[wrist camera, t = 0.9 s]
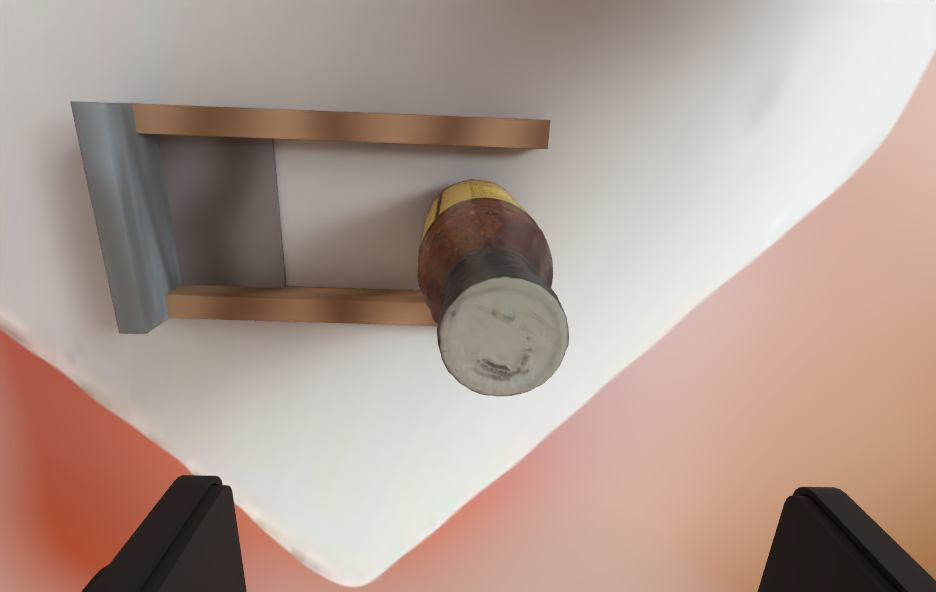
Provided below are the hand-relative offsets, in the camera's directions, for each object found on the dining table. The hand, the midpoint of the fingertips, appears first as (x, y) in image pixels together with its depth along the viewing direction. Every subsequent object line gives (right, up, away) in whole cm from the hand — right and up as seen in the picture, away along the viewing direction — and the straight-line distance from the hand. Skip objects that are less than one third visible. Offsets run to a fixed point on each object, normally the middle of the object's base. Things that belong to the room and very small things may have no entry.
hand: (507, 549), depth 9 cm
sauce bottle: (0, +9, +25) cm, 27 cm away
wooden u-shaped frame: (-8, +10, +25) cm, 28 cm away
